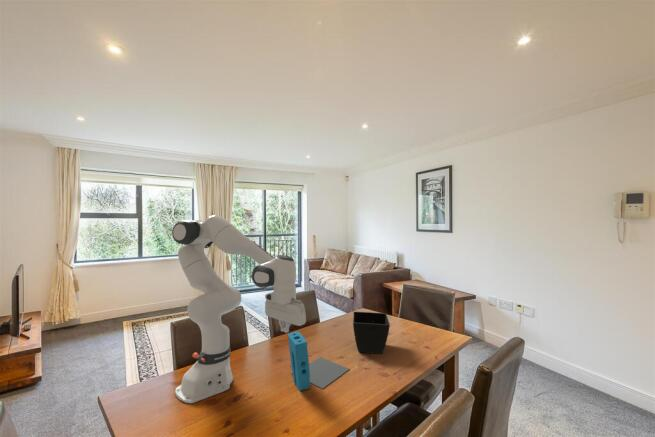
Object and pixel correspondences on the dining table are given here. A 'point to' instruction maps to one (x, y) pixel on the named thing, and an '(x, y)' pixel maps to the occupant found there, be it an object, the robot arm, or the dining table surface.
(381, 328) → the flower pot
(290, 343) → the block
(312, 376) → the charcoal mat
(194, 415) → the dining table surface
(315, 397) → the dining table surface
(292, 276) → the robot arm
